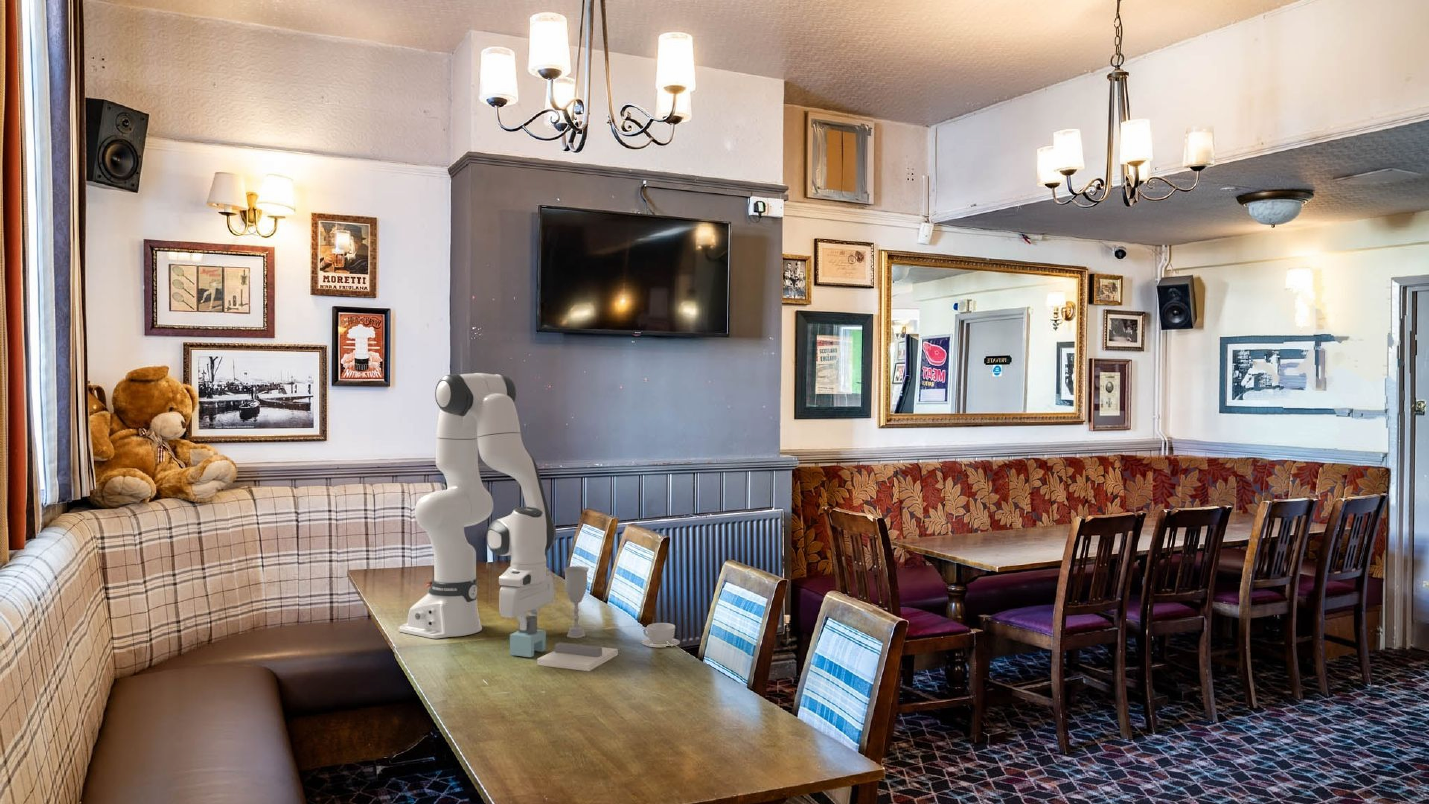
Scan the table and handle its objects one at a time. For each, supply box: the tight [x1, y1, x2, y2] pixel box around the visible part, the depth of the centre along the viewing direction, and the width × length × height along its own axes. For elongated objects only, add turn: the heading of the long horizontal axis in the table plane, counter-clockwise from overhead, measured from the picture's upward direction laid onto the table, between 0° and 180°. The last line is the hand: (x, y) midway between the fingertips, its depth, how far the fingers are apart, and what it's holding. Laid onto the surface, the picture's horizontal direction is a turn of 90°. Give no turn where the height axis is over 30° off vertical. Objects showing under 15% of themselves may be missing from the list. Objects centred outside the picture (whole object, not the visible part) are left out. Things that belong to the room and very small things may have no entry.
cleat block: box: [509, 614, 547, 658], centre depth 244 cm, size 6×7×9 cm
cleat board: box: [536, 642, 619, 672], centre depth 239 cm, size 14×15×4 cm
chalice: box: [563, 565, 590, 639], centre depth 262 cm, size 7×7×18 cm
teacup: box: [641, 622, 681, 648], centre depth 255 cm, size 10×10×5 cm
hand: (528, 628), depth 244 cm, fingers closed on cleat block
